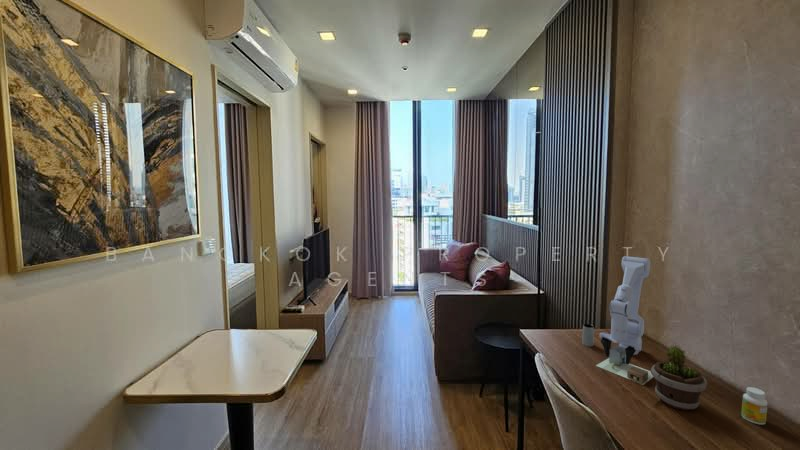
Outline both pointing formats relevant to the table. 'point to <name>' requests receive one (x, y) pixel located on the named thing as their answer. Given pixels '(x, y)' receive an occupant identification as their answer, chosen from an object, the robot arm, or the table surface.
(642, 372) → the cover
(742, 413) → the supplement bottle
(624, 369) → the base
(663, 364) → the flowerpot
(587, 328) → the grey cylinder
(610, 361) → the grey block
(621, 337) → the robot arm
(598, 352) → the table surface
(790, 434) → the table surface
